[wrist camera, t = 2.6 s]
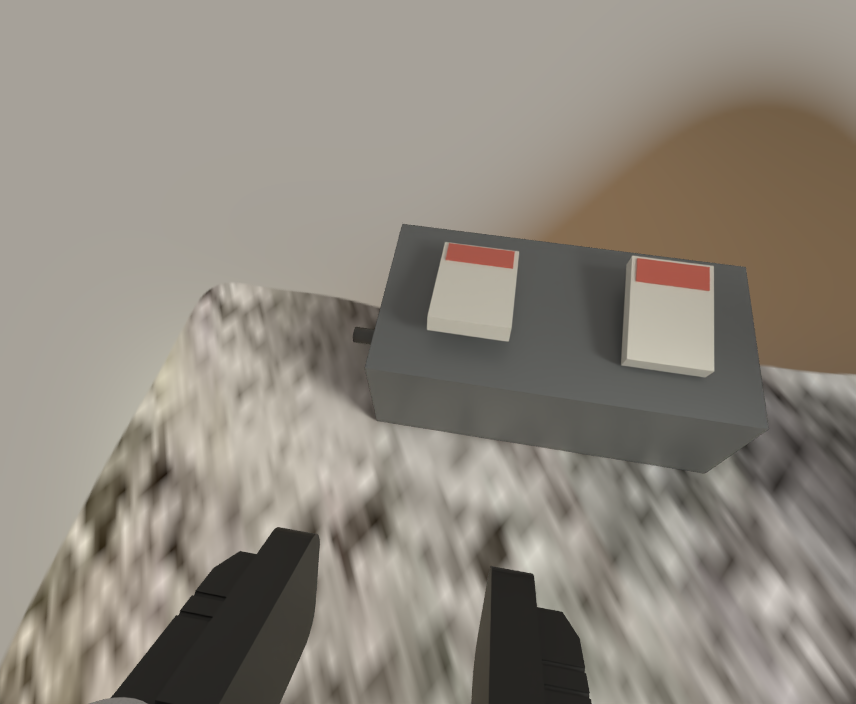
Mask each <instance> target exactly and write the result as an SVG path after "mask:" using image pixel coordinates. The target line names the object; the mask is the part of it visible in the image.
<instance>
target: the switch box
mask: <svg viewBox="0 0 856 704" xmlns="http://www.w3.org/2000/svg"><path fill="white" fill-rule="evenodd" d="M445 242H449V243H457V244H465V245H473V246H480V247H488V248H496V249H504V250H512V251H519V259H518V269H517V279H516V289H515V299H514V309H513V319H512V328H511V333H510V338H509V342H507V341H500V340H493V339H486V338H479V337H473V336H466V335H459V334H452V333H445V332H438V331H431V330H427V316H428V312H429V308H430V303H431V299H432V295H433V291H434V287H435V282H436V278H437V274H438V270H439V266H440V261H441V257H442V253H443V249H444V244H445ZM632 256H639V257H647V258H655V259H663V260H671V261H679V262H687V263H695V264H703V265H710V266H714V372H713V373H711V374H710V375H708V376H707V377H698V376H691V375H684V374H678V373H671V372H664V371H657V370H650V369H643V368H636V367H629V366H622V365H621V355H622V337H623V319H624V301H625V282H626V265H627V263H628V262H629V260H630V258H631V257H632ZM353 342H357V343H363V344H370V345H371V346H370V350H369V354H368V357H367V361H366V365H365V371H366V376H367V380H368V384H369V389H370V393H371V397H372V401H373V406H374V410H375V414H376V419H377V421H382V422H388V423H394V424H400V425H407V426H413V427H419V428H425V429H432V430H438V431H444V432H450V433H456V434H463V435H469V436H475V437H481V438H488V439H494V440H500V441H506V442H513V443H519V444H525V445H531V446H538V447H544V448H550V449H556V450H563V451H569V452H575V453H581V454H588V455H594V456H600V457H606V458H613V459H619V460H625V461H631V462H638V463H644V464H650V465H656V466H662V467H669V468H675V469H681V470H687V471H694V472H700V473H706V472H708V471H709V470H711V469H712V468H714V467H715V466H716V465H718V464H719V463H721V462H722V461H724V460H725V459H727V458H728V457H729V456H731V455H732V454H734V453H735V452H737V451H738V450H740V449H741V448H742V447H744V446H745V445H747V444H748V443H750V442H751V441H753V440H754V439H755V438H757V437H758V436H760V435H761V434H763V433H764V432H766V431H767V430H768V429H769V427H768V420H767V413H766V406H765V399H764V392H763V385H762V378H761V371H760V364H759V358H758V350H757V343H756V336H755V329H754V322H753V315H752V308H751V301H750V294H749V287H748V279H747V273H746V267H741V266H732V265H724V264H716V263H709V262H701V261H693V260H685V259H677V258H669V257H661V256H653V255H645V254H638V253H630V252H622V251H614V250H606V249H598V248H590V247H582V246H574V245H566V244H557V243H550V242H542V241H534V240H526V239H518V238H510V237H502V236H494V235H486V234H478V233H471V232H463V231H455V230H447V229H438V228H431V227H422V226H415V225H407V224H402V227H401V231H400V235H399V239H398V243H397V247H396V250H395V254H394V258H393V262H392V266H391V269H390V273H389V277H388V281H387V285H386V288H385V292H384V296H383V300H382V304H381V308H380V311H379V315H378V319H377V323H376V327H375V330H374V329H367V328H360V327H355V329H354V333H353Z"/></svg>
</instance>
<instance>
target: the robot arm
mask: <svg viewBox="0 0 856 704" xmlns="http://www.w3.org/2000/svg"><path fill="white" fill-rule="evenodd" d="M319 548H320V539H319V535H318V534H313V533H308V532H302V531H297V530H291V529H286V528H280V527H277V528H275V529H274V530H273V532H272V533H271V534H270V536H269V537H268V539H267V540H266V542H265V543H264V545H263V546H262V547H261V549H260V550H259V552H258V553H257V554H253V553H247V552H242V551H239V552H238V553H236V554H235V555H233V556H232V557H230V558H229V559H227V560H225V561H224V562H222V563H221V564H219V565H218V566H216V567H214V568H213V569H212V571H211V572H210V573H209V574H208V576H207V577H206V578H205V580H204V581H203V582H202V583H201V585H200V586H199V587H198V588H197V590H196V592H195V595H194V596H191V597H190V599H189V600H188V601H187V602H186V604H185V605H184V606H183V607H182V609H181V610H180V614H179V615H178V616H177V615H176V616H175V618H174V619H173V620H172V621H171V623H170V624H169V625H168V626H167V628H166V629H165V630H164V631H163V633H162V634H161V635H160V636H159V638H158V639H157V640H156V642H155V643H154V644H153V645H152V647H151V648H150V649H149V650H148V652H147V653H146V654H145V655H144V657H143V658H142V659H141V661H140V662H139V663H138V664H137V666H136V667H135V668H134V669H133V671H132V672H131V673H130V674H129V676H128V677H127V678H126V680H125V681H124V682H123V683H122V685H121V686H120V687H119V688H118V690H117V691H116V692H115V693H114V695H113V696H112V697H111V698H109V699H103V700H100V701H96V702H93V703H90V704H280V702H281V700H282V697H283V695H284V693H285V691H286V688H287V686H288V684H289V682H290V679H291V677H292V675H293V672H294V670H295V668H296V666H297V663H298V661H299V659H300V657H301V654H302V652H303V650H304V648H305V645H306V643H307V640H308V637H309V634H310V630H311V626H312V622H313V618H314V612H315V604H316V590H317V576H318V562H319ZM589 693H590V692H589V687H588V681H587V676H586V673H585V665H584V660H583V654H582V649H581V643H580V638H579V637H578V635H577V634H576V632H575V631H574V629H573V627H572V626H571V624H570V623H569V621H568V620H567V618H566V617H565V615H564V614H563V612H560V611H555V610H550V609H544V608H539V607H537V603H536V592H535V581H534V575H533V574H531V573H526V572H520V571H515V570H509V569H504V568H498V567H493V566H491V567H490V570H489V575H488V580H487V586H486V592H485V598H484V603H483V609H482V615H481V621H480V627H479V632H478V638H477V645H476V652H475V661H474V671H473V684H472V701H471V704H592V703H591V699H589Z"/></svg>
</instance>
